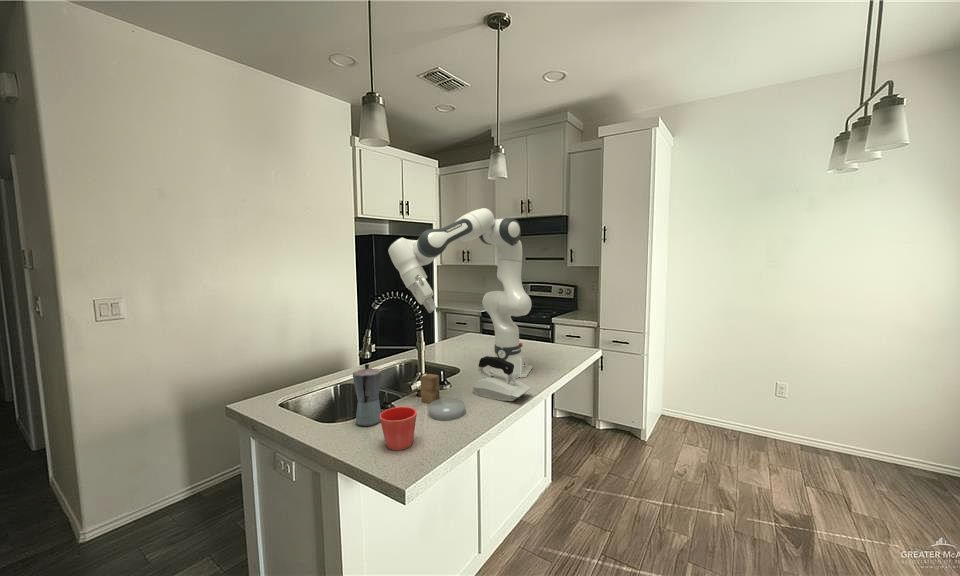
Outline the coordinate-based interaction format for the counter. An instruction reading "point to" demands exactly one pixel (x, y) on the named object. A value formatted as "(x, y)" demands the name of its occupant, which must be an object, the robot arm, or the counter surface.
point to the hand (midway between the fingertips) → (432, 310)
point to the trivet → (446, 409)
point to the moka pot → (367, 395)
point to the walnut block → (429, 388)
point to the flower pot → (398, 427)
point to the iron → (499, 381)
